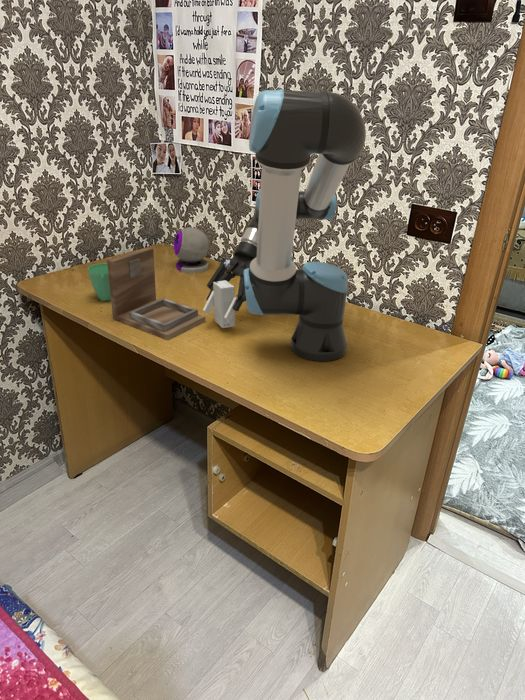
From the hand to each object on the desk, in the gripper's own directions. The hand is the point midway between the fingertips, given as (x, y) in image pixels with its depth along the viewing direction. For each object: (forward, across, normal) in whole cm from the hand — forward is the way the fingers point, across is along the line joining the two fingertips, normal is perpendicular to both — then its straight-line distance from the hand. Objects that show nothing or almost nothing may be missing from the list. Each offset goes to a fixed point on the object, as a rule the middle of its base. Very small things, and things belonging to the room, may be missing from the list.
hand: (216, 315), depth 149 cm
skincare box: (0, 0, -5) cm, 5 cm away
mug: (+4, +42, -3) cm, 42 cm away
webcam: (-23, +42, -30) cm, 56 cm away
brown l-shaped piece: (+7, +18, 0) cm, 19 cm away
